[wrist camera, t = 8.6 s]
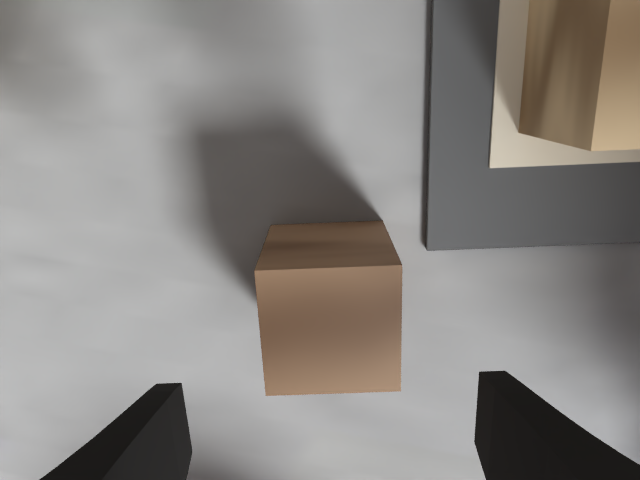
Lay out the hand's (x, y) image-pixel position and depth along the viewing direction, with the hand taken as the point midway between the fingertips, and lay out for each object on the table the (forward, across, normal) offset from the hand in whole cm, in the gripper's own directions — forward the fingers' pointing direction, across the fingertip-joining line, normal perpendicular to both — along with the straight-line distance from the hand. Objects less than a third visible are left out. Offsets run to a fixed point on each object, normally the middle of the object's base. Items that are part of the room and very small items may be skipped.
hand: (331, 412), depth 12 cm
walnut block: (+9, 0, 0) cm, 9 cm away
